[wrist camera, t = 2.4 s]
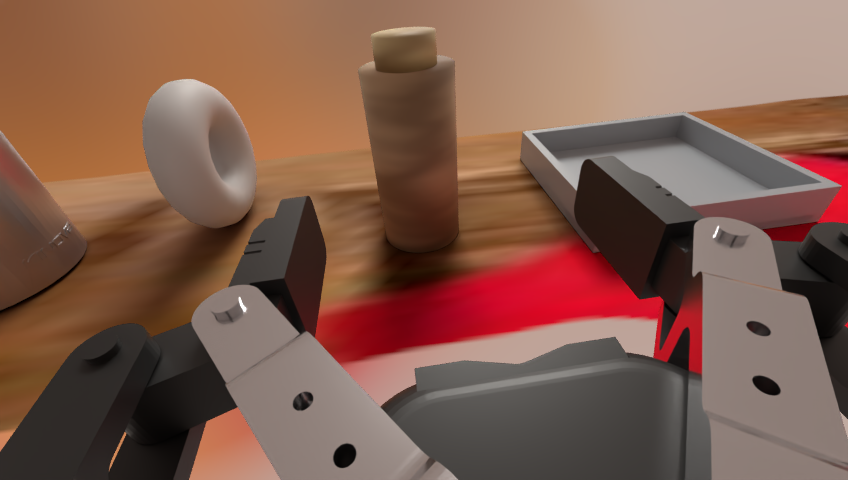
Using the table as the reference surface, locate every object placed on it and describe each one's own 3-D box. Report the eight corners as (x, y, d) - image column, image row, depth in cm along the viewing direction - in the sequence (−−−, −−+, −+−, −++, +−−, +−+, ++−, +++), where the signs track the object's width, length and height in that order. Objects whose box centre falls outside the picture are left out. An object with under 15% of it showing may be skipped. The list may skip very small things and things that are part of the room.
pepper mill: (387, 257, 23) (350, 47, 16) (384, 214, 27) (354, 30, 20) (465, 247, 24) (463, 35, 16) (451, 206, 28) (444, 20, 20)
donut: (234, 187, 33) (181, 65, 27) (273, 183, 33) (229, 60, 27) (185, 260, 25) (94, 109, 19) (237, 254, 25) (163, 102, 19)
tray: (593, 252, 22) (601, 218, 21) (520, 159, 33) (522, 131, 31) (817, 221, 23) (842, 186, 22) (675, 139, 34) (684, 112, 32)
